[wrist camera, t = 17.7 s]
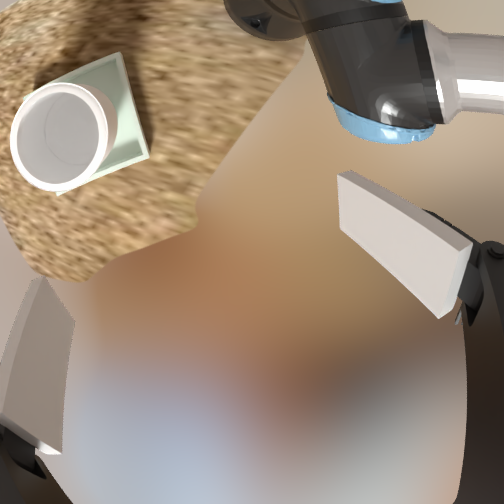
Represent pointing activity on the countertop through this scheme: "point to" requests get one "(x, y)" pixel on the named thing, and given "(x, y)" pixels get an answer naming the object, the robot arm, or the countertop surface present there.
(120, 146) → the tray
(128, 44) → the countertop surface
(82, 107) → the jar
